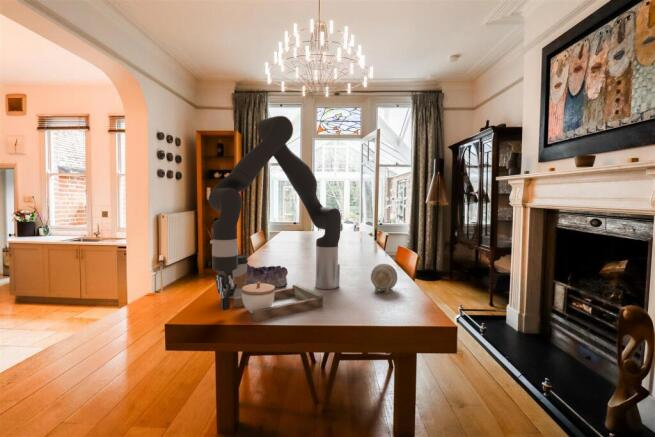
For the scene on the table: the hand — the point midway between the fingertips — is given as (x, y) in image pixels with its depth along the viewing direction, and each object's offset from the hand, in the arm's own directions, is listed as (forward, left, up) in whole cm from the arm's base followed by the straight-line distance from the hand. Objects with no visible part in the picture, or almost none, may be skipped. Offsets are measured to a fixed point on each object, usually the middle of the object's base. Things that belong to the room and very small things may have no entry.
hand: (225, 309), depth 102 cm
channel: (-19, 0, -3) cm, 19 cm away
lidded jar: (-11, 0, -3) cm, 11 cm away
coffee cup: (-11, -19, -3) cm, 22 cm away
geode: (-26, -27, -3) cm, 38 cm away
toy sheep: (-63, +7, -3) cm, 63 cm away
